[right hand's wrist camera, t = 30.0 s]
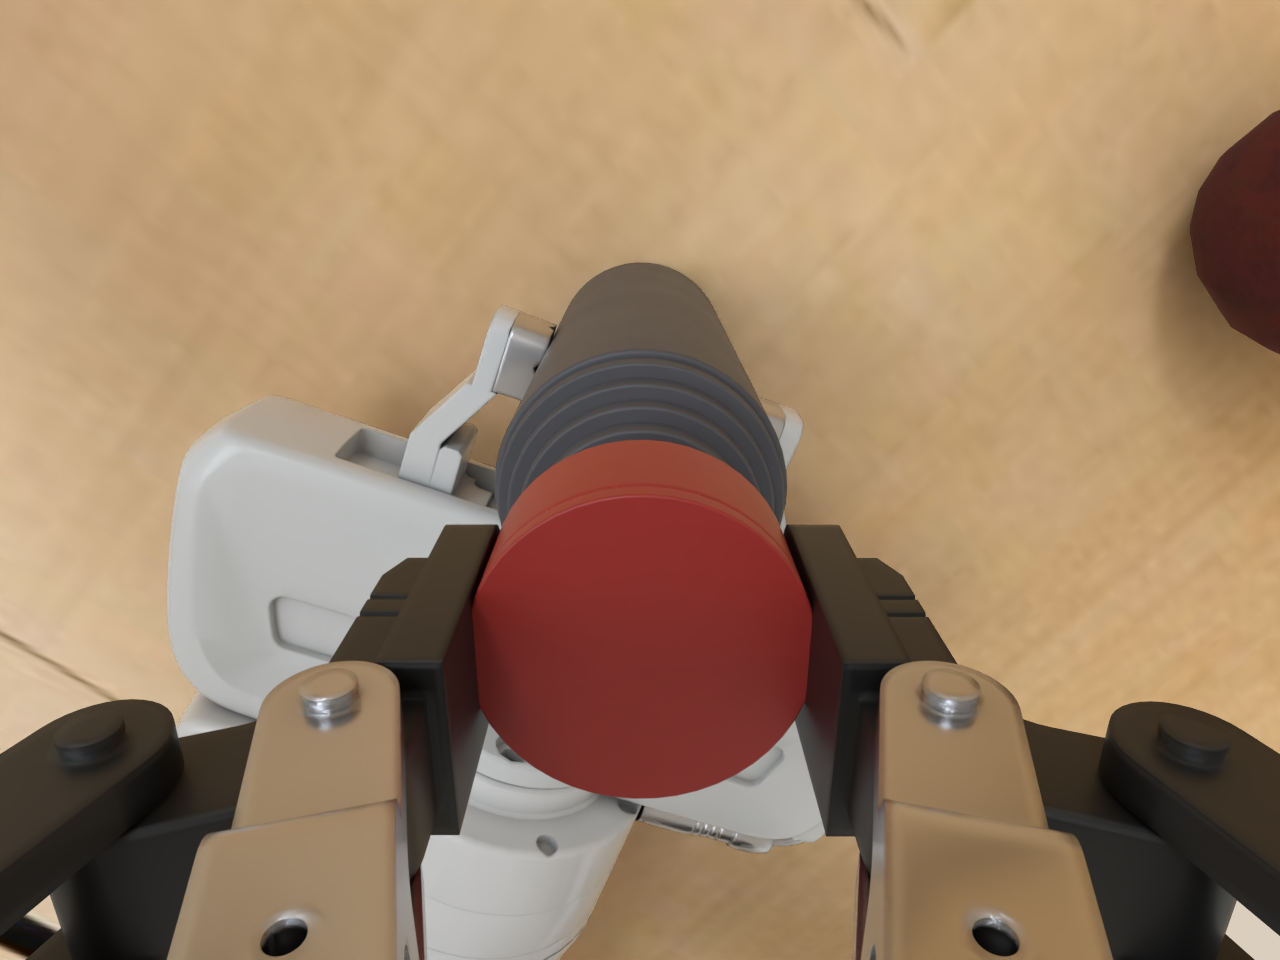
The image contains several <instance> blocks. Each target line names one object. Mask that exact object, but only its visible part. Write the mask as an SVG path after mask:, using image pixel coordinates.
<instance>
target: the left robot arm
mask: <svg viewBox="0 0 1280 960" xmlns="http://www.w3.org/2000/svg"><path fill="white" fill-rule="evenodd" d="M556 326H557V325H555V324H552V323H550V322H547V321H545V320H542V319H539V318H537V317H534V316H531V315H529V314H526V313H523V312H521V311H519V310H516V309H513V308H510V307H507V306H503V305H502V306H501V307H500V308H499V309H498V310H497V311H496V313H495V315H494V317H493V320H492V322H491V325H490V327H489V329H488V332H487V336H486V339H485V342H484V346H483V349H482V352H481V356H480V359H479V363H478V366H477V369H476V370H474V371H473V372H472V373H471V374H470V375H469V376H468V377H466V378H465V379H464V380H463V381H462V382H461V383H460V384H459V385H457V386H456V387H455V388H454V389H453V390H452V391H451V392H449V393H448V394H447V395H446V396H445V397H444V398H443V399H441V400H440V401H439V402H438V403H437V404H436V405H435V406H434V407H432V408H431V409H430V410H429V411H428V413H427V414H426V415H425V416H424V417H423V419H422V420H421V421H420V422H419V424H418V425H417V426H416V427H415V428H414V430H413V431H412V432H411V433H410V435H409V439H408V438H405V437H402V436H399V435H396V434H393V433H390V432H387V431H384V430H381V429H378V428H375V427H372V426H369V425H367V424H364V423H361V422H358V421H355V420H352V419H349V418H346V417H343V416H340V415H337V414H334V413H331V412H328V411H325V410H322V409H319V408H316V407H313V406H310V405H307V404H304V403H301V402H298V401H295V400H292V399H289V398H286V397H282V396H276V395H271V396H266V397H263V398H260V399H258V400H257V401H255V402H253V403H251V404H249V405H247V406H245V407H243V408H241V409H239V410H237V411H235V412H233V413H231V414H230V415H228V416H226V417H225V418H223V419H221V420H220V421H219V422H217V423H216V424H215V425H213V426H212V427H211V428H209V429H208V430H207V431H205V432H204V433H203V434H202V435H201V436H200V437H199V438H198V439H197V440H196V441H195V442H194V443H193V444H192V446H191V447H190V448H189V450H188V451H187V453H186V455H185V457H184V459H183V462H182V465H181V469H180V473H179V477H178V482H177V487H176V494H175V500H174V507H173V515H172V524H171V533H170V545H169V560H168V583H167V622H168V632H169V638H170V643H171V647H172V650H173V654H174V656H175V659H176V661H177V663H178V665H179V667H180V669H181V671H182V672H183V674H184V675H185V677H186V678H187V679H188V680H189V682H190V683H191V684H192V685H193V686H194V687H195V688H196V689H197V690H198V691H197V692H196V694H195V695H194V697H193V698H192V700H191V702H190V704H189V705H188V707H187V709H186V711H185V712H184V714H183V716H182V718H181V719H180V721H179V723H178V725H177V727H176V730H177V734H178V738H180V737H185V736H190V735H195V734H200V733H205V732H210V731H215V730H220V729H225V728H230V727H235V726H239V725H243V724H247V723H251V722H254V721H257V718H258V714H259V710H260V707H261V704H262V702H263V700H264V699H265V697H266V696H267V695H268V694H269V692H270V691H271V690H272V689H273V688H275V687H276V686H277V685H278V684H280V683H281V682H282V681H284V680H286V679H287V678H289V677H291V676H293V675H295V674H297V673H299V672H301V671H303V670H306V669H309V668H311V667H315V666H318V665H322V664H327V663H329V662H330V660H331V658H332V657H333V655H334V653H335V652H336V650H337V649H338V647H339V645H340V644H341V642H342V640H343V639H344V637H345V635H346V634H347V632H348V630H349V629H350V627H351V626H352V624H353V622H354V621H355V619H356V617H357V616H360V611H361V609H362V607H363V606H364V604H365V603H366V601H367V599H370V594H371V593H372V591H373V589H374V588H375V586H376V584H377V583H378V581H379V580H380V578H381V576H382V575H383V574H385V573H386V572H387V571H389V570H390V569H392V568H393V567H395V566H396V565H398V564H399V563H401V562H402V561H404V560H405V559H406V558H428V557H429V555H430V553H431V551H432V549H433V547H434V545H435V543H436V541H437V539H438V538H439V536H440V534H441V532H442V530H443V528H444V526H445V525H447V524H497V525H498V526H499V528H500V530H501V523H500V519H499V515H498V510H497V505H496V499H495V472H496V468H495V467H492V466H489V465H486V464H483V463H480V462H477V461H474V460H471V459H469V458H470V455H471V451H472V448H473V444H474V441H475V437H476V434H477V429H476V427H475V426H474V425H471V424H469V423H466V421H467V420H468V419H469V418H471V417H472V416H473V415H474V414H475V413H476V412H477V411H479V410H480V409H481V408H482V407H483V406H484V405H485V404H486V403H488V402H489V401H490V400H491V399H492V398H493V397H494V396H496V395H497V393H499V394H502V395H505V396H509V397H512V398H515V399H518V400H521V401H522V399H523V397H524V395H525V393H526V391H527V389H528V387H529V385H530V383H531V381H532V379H533V377H534V375H535V373H536V371H537V369H538V367H539V365H540V363H541V361H542V359H543V357H544V355H545V353H546V351H547V349H548V347H549V345H550V343H551V341H552V339H553V336H554V333H555V330H556ZM758 398H759V400H760V402H761V404H762V406H763V408H764V410H765V412H766V414H767V416H768V418H769V420H770V422H771V424H772V426H773V428H774V430H775V432H776V434H777V437H778V439H779V442H780V445H781V448H782V451H783V456H784V461H785V466H786V470H787V468H788V465H789V463H790V461H791V459H792V456H793V454H794V452H795V450H796V448H797V445H798V443H799V441H800V439H801V434H802V430H803V421H802V419H801V417H800V416H799V414H798V412H797V411H796V410H794V409H792V408H789V407H786V406H783V405H780V404H778V403H775V402H772V401H769V400H766V399H763V398H760V397H758ZM780 527H781V530H782V532H783V534H784V530H785V527H786V521H785V513H783V517H782V522H781V525H780ZM635 820H636V821H638V822H642V823H646V824H649V825H653V826H656V827H660V828H663V829H667V830H670V831H674V832H677V833H682V834H687V835H689V834H690V835H693V836H700V837H707V838H710V839H715V840H717V841H721V842H724V843H726V845H727V846H729V847H732V848H734V849H737V850H740V851H744V852H748V853H755V854H766V853H768V852H769V850H770V849H771V847H772V846H792V845H796V844H800V843H803V842H807V843H808V842H814V841H816V840H818V839H819V838H821V837H822V836H823V835H824V834H825V830H824V827H823V823H822V819H821V815H820V812H819V808H818V804H817V801H816V797H815V793H814V790H813V786H812V782H811V779H810V775H809V771H808V768H807V764H806V760H805V757H804V753H803V749H802V745H801V742H800V738H799V734H798V731H797V727H796V723H795V721H794V722H793V724H792V725H791V726H790V728H789V729H788V731H787V732H786V733H785V735H784V736H783V737H782V738H781V739H780V740H779V741H778V742H777V743H776V744H775V746H774V747H773V748H772V749H771V750H770V751H769V752H767V753H766V754H765V755H764V756H762V757H761V758H760V759H759V760H758V761H756V762H755V763H754V764H752V765H751V766H749V767H748V768H746V769H745V770H743V771H741V772H740V773H738V774H737V775H735V776H733V777H731V778H729V779H726V780H724V781H722V782H720V783H718V784H716V785H713V786H710V787H707V788H704V789H701V790H699V791H695V792H691V793H686V794H682V795H678V796H671V797H663V798H651V799H631V798H619V797H611V796H605V795H600V794H595V793H591V792H588V791H584V790H581V789H578V788H575V787H572V786H569V785H567V784H565V783H562V782H560V781H558V780H555V779H553V778H551V777H550V776H548V775H546V774H544V773H543V772H541V771H539V770H537V769H536V768H534V767H533V766H531V765H530V764H529V763H527V762H526V761H525V760H523V759H522V758H521V757H519V756H518V755H517V754H516V753H515V752H514V751H513V750H512V749H511V748H510V747H509V746H508V745H507V744H506V743H505V742H504V741H503V740H502V739H501V738H500V736H499V735H498V734H497V733H496V732H495V730H494V729H493V728H492V727H491V725H490V723H489V725H488V729H487V732H486V736H485V740H484V744H483V748H482V751H481V755H480V759H479V763H478V767H477V770H476V774H475V778H474V782H473V786H472V789H471V793H470V797H469V801H468V805H467V808H466V812H465V816H464V820H463V824H462V827H461V831H460V835H431V836H430V839H429V843H428V846H427V849H426V852H425V856H424V859H423V861H422V871H423V879H424V892H425V915H426V937H427V960H561V956H562V955H563V954H564V953H565V952H566V951H567V949H568V948H569V947H570V946H571V945H572V944H573V943H574V942H575V940H576V939H577V937H578V936H579V934H580V933H581V931H582V930H583V928H584V927H585V925H586V924H587V922H588V920H589V918H590V915H591V913H592V911H593V910H594V907H595V905H596V903H597V901H598V899H599V896H600V894H601V892H602V890H603V888H604V886H605V884H606V881H607V879H608V877H609V875H610V873H611V871H612V869H613V866H614V864H615V862H616V860H617V858H618V855H619V853H620V851H621V849H622V847H623V845H624V843H625V841H626V838H627V836H628V834H629V832H630V830H631V828H632V826H633V823H634V821H635Z"/></svg>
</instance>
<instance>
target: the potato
mask: <svg viewBox="0 0 1280 960" xmlns="http://www.w3.org/2000/svg"><path fill="white" fill-rule="evenodd" d="M1190 234H1191V240H1192V246H1193V252H1194V259H1195V264H1196V270H1197V275H1198V276H1199V278H1200V280H1201V281H1202V283H1203V284H1204V286H1205V288H1206V289H1207V291H1208V292H1209V294H1210V296H1211V297H1212V299H1213V300H1214V302H1215V303H1216V305H1217V307H1218V308H1219V310H1220V311H1221V313H1222V314H1223V316H1224V317H1225V319H1226V320H1227V321H1228V323H1229V324H1230V326H1231V327H1232V328H1234V329H1236V330H1237V331H1239V332H1241V333H1242V334H1244V335H1246V336H1248V337H1249V338H1251V339H1253V340H1254V341H1256V342H1258V343H1259V344H1261V345H1263V346H1265V347H1266V348H1268V349H1270V350H1272V351H1274V352H1276V353H1279V354H1280V110H1279V111H1276V112H1274V113H1272V114H1271V115H1270V116H1268V117H1267V118H1266V119H1265V120H1264V121H1262V122H1261V123H1260V124H1259V125H1258V126H1256V127H1255V128H1254V129H1253V130H1251V131H1250V132H1249V133H1248V134H1247V135H1245V136H1244V137H1243V138H1242V139H1241V140H1239V141H1238V142H1237V143H1236V144H1235V145H1233V146H1232V147H1231V148H1230V149H1228V150H1227V151H1226V152H1225V153H1224V154H1223V155H1222V156H1221V157H1220V158H1219V160H1218V162H1217V163H1216V165H1215V166H1214V168H1213V169H1212V171H1211V172H1210V174H1209V176H1208V177H1207V179H1206V180H1205V182H1204V183H1203V185H1202V187H1201V188H1200V190H1199V191H1198V195H1197V199H1196V204H1195V208H1194V212H1193V216H1192V220H1191V224H1190Z"/></svg>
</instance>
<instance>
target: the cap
mask: <svg viewBox="0 0 1280 960" xmlns="http://www.w3.org/2000/svg"><path fill="white" fill-rule="evenodd" d="M472 618H473V630H474V643H475V655H476V668H477V680H478V693H479V704H480V708H481V710H482V712H483V714H484V715H485V717H486V719H487V720H488V722H489V723H490V725H491V727H492V728H493V729H494V730H495V732H496V733H497V734H498V735H499V736H500V738H501V739H502V740H503V741H504V742H505V743H506V744H507V745H508V746H509V747H510V748H511V749H512V750H513V751H514V752H515V753H516V754H517V755H518V756H519V757H521V758H522V759H523V760H525V761H526V762H527V763H529V764H530V765H531V766H533V767H534V768H536V769H537V770H539V771H541V772H543V773H544V774H546V775H548V776H550V777H551V778H553V779H555V780H558V781H560V782H562V783H565V784H567V785H569V786H572V787H575V788H578V789H581V790H584V791H588V792H591V793H595V794H600V795H605V796H611V797H619V798H631V799H651V798H663V797H671V796H678V795H682V794H686V793H691V792H695V791H699V790H701V789H704V788H707V787H710V786H713V785H716V784H718V783H720V782H722V781H724V780H726V779H729V778H731V777H733V776H735V775H737V774H738V773H740V772H741V771H743V770H745V769H746V768H748V767H749V766H751V765H752V764H754V763H755V762H756V761H758V760H759V759H760V758H761V757H762V756H764V755H765V754H766V753H767V752H769V751H770V750H771V749H772V748H773V747H774V746H775V744H776V743H777V742H778V741H779V740H780V739H781V738H782V737H783V736H784V735H785V733H786V732H787V731H788V729H789V728H790V726H791V725H792V724H793V722H794V721H795V720H796V718H797V716H798V714H799V712H800V710H801V708H802V707H803V705H804V703H805V700H806V689H807V677H808V665H809V653H810V641H811V629H812V608H811V604H810V601H809V599H808V596H807V594H806V591H805V588H804V586H803V583H802V581H801V578H800V576H799V573H798V570H797V568H796V565H795V563H794V560H793V558H792V555H791V553H790V550H789V547H788V545H787V542H786V540H785V537H784V535H783V532H782V530H781V527H780V525H779V523H778V520H777V518H776V516H775V515H774V513H773V511H772V510H771V508H770V506H769V505H768V503H767V501H766V500H765V499H764V498H763V496H762V495H761V494H760V493H759V492H758V490H757V489H756V488H755V487H754V486H753V485H752V484H751V483H750V482H749V481H748V480H747V479H746V478H745V477H743V476H742V475H741V474H740V473H739V472H737V471H736V470H734V469H733V468H731V467H730V466H729V465H727V464H726V463H724V462H722V461H720V460H719V459H717V458H715V457H713V456H711V455H709V454H707V453H704V452H702V451H699V450H696V449H694V448H691V447H688V446H684V445H679V444H675V443H671V442H664V441H655V440H625V441H619V442H612V443H606V444H602V445H599V446H595V447H592V448H588V449H585V450H583V451H581V452H578V453H576V454H573V455H571V456H569V457H567V458H565V459H564V460H562V461H560V462H558V463H557V464H555V465H553V466H552V467H550V468H549V469H548V470H546V471H545V472H544V473H543V474H541V475H540V476H539V477H537V478H536V479H535V480H534V481H533V482H532V483H531V484H530V485H529V486H528V487H527V488H526V489H525V490H524V491H523V492H522V494H521V495H520V497H519V498H518V499H517V501H516V502H515V503H514V505H513V506H512V507H511V509H510V511H509V513H508V515H507V517H506V519H505V521H504V522H503V525H502V527H501V530H500V532H499V535H498V537H497V540H496V543H495V545H494V548H493V550H492V553H491V556H490V558H489V561H488V563H487V566H486V569H485V571H484V574H483V576H482V579H481V582H480V584H479V587H478V589H477V592H476V595H475V597H474V600H473V603H472Z"/></svg>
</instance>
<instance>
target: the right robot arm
mask: <svg viewBox="0 0 1280 960" xmlns="http://www.w3.org/2000/svg"><path fill="white" fill-rule="evenodd" d="M499 532H500V528H499V526H498V525H497V524H447V525H445V526H444V528H443V530H442V532H441V534H440V536H439V538H438V539H437V541H436V543H435V545H434V547H433V549H432V551H431V553H430V555H429V557H428V558H406V559H405V560H404V561H402V562H401V563H399V564H398V565H396V566H395V567H393V568H392V569H390V570H389V571H387V572H386V573H385V574H383V575H382V576H381V578H380V580H379V581H378V583H377V584H376V586H375V588H374V589H373V591H372V593H371V594H370V599H367V601H366V603H365V604H364V606H363V607H362V609H361V611H360V616H357V617H356V619H355V621H354V622H353V624H352V626H351V627H350V629H349V630H348V632H347V634H346V635H345V637H344V639H343V640H342V642H341V644H340V645H339V647H338V649H337V650H336V652H335V653H334V655H333V657H332V658H331V660H330V662H329V663H327V664H322V665H318V666H315V667H311V668H309V669H306V670H303V671H301V672H299V673H297V674H295V675H293V676H291V677H289V678H287V679H286V680H284V681H282V682H281V683H280V684H278V685H277V686H276V687H275V688H273V689H272V690H271V691H270V692H269V694H268V695H267V696H266V697H265V699H264V700H263V702H262V704H261V707H260V710H259V714H258V718H257V721H254V722H251V723H247V724H243V725H239V726H235V727H230V728H225V729H220V730H215V731H210V732H205V733H200V734H195V735H190V736H185V737H180V738H178V734H177V730H176V726H175V722H174V718H173V715H172V713H171V712H170V711H169V710H168V708H166V707H165V706H163V705H161V704H159V703H156V702H153V701H147V700H135V699H130V700H118V701H111V702H105V703H101V704H97V705H93V706H90V707H86V708H83V709H80V710H77V711H75V712H72V713H70V714H67V715H65V716H63V717H61V718H59V719H57V720H54V721H52V722H51V723H49V724H47V725H45V726H44V727H42V728H40V729H39V730H37V731H36V732H34V733H33V734H31V735H29V736H28V737H26V738H25V739H23V740H22V741H20V742H19V743H17V744H15V745H14V746H12V747H11V748H9V749H8V750H6V751H4V752H3V753H1V754H0V936H1V935H2V934H3V933H4V932H5V931H7V930H8V929H9V928H10V927H11V926H13V925H14V924H15V923H16V922H17V921H19V920H20V919H21V918H22V917H23V916H25V915H26V914H27V913H28V912H29V911H31V910H32V909H33V908H34V907H35V906H37V905H38V904H39V903H40V902H41V901H43V900H44V899H45V898H46V897H47V896H49V895H50V897H51V900H52V902H53V905H54V908H55V911H56V914H57V917H58V920H59V923H60V926H61V929H60V930H59V931H57V932H56V933H55V934H54V935H53V936H52V937H51V938H50V939H48V940H47V941H46V942H45V943H44V944H43V945H42V946H41V947H39V948H38V949H37V950H36V951H35V952H34V953H33V954H32V955H30V956H29V957H28V958H27V959H26V960H427V937H426V915H425V892H424V879H423V871H422V861H423V859H424V856H425V852H426V849H427V846H428V843H429V839H430V836H431V835H460V831H461V827H462V824H463V820H464V816H465V812H466V808H467V805H468V801H469V797H470V793H471V789H472V786H473V782H474V778H475V774H476V770H477V767H478V763H479V759H480V755H481V751H482V748H483V744H484V740H485V736H486V732H487V729H488V725H489V722H488V720H487V719H486V717H485V715H484V714H483V712H482V710H481V708H480V704H479V693H478V680H477V668H476V655H475V643H474V630H473V618H472V603H473V600H474V597H475V595H476V592H477V589H478V587H479V584H480V582H481V579H482V576H483V574H484V571H485V569H486V566H487V563H488V561H489V558H490V556H491V553H492V550H493V548H494V545H495V543H496V540H497V537H498V535H499ZM783 535H784V537H785V540H786V542H787V545H788V547H789V550H790V553H791V555H792V558H793V560H794V563H795V565H796V568H797V570H798V573H799V576H800V578H801V581H802V583H803V586H804V588H805V591H806V594H807V596H808V599H809V601H810V604H811V608H812V629H811V641H810V653H809V665H808V677H807V689H806V700H805V703H804V705H803V707H802V708H801V710H800V712H799V714H798V716H797V718H796V720H795V723H796V727H797V731H798V734H799V738H800V742H801V745H802V749H803V753H804V757H805V760H806V764H807V768H808V771H809V775H810V779H811V782H812V786H813V790H814V793H815V797H816V801H817V804H818V808H819V812H820V815H821V819H822V823H823V827H824V830H825V834H826V836H855V837H856V840H857V844H858V847H859V850H860V855H859V863H858V871H857V879H856V892H855V914H854V936H853V959H852V960H1254V959H1253V958H1252V957H1251V956H1250V955H1248V954H1247V953H1246V952H1245V951H1244V950H1243V949H1242V948H1241V947H1239V946H1238V945H1237V944H1236V943H1235V942H1234V941H1233V940H1232V939H1230V938H1229V937H1228V936H1227V935H1226V934H1225V933H1226V930H1227V927H1228V924H1229V921H1230V918H1231V915H1232V913H1233V910H1234V907H1235V904H1236V901H1239V902H1240V903H1241V904H1242V905H1243V906H1245V907H1246V908H1247V909H1248V910H1249V911H1251V912H1252V913H1253V914H1254V915H1255V916H1257V917H1258V918H1259V919H1260V920H1261V921H1263V922H1264V923H1265V924H1266V925H1267V926H1269V927H1270V928H1271V929H1272V930H1273V931H1275V932H1276V933H1277V934H1278V935H1279V936H1280V754H1279V753H1277V752H1276V751H1274V750H1272V749H1271V748H1269V747H1268V746H1266V745H1265V744H1263V743H1262V742H1260V741H1258V740H1257V739H1255V738H1254V737H1252V736H1251V735H1249V734H1247V733H1246V732H1244V731H1243V730H1241V729H1239V728H1238V727H1236V726H1234V725H1232V724H1231V723H1229V722H1226V721H1224V720H1222V719H1220V718H1218V717H1216V716H1213V715H1211V714H1208V713H1206V712H1203V711H1200V710H1196V709H1193V708H1190V707H1186V706H1181V705H1177V704H1171V703H1165V702H1137V703H1131V704H1128V705H1125V706H1122V707H1120V708H1119V709H1117V710H1116V711H1115V712H1114V713H1113V714H1112V715H1111V718H1110V721H1109V725H1108V729H1107V733H1106V737H1105V738H1102V737H1097V736H1092V735H1087V734H1082V733H1077V732H1072V731H1067V730H1062V729H1057V728H1052V727H1048V726H1044V725H1039V724H1036V723H1033V722H1030V721H1027V720H1024V719H1023V718H1022V714H1021V710H1020V707H1019V704H1018V702H1017V700H1016V699H1015V697H1014V696H1013V695H1012V694H1011V693H1010V691H1009V690H1008V689H1007V688H1005V687H1004V686H1003V685H1002V684H1000V683H999V682H998V681H996V680H994V679H993V678H991V677H989V676H987V675H985V674H983V673H981V672H979V671H977V670H974V669H971V668H969V667H965V666H962V665H958V664H957V663H956V661H955V659H954V658H953V656H952V655H951V653H950V651H949V650H948V648H947V647H946V645H945V643H944V642H943V640H942V639H941V637H940V635H939V634H938V632H937V630H936V629H935V627H934V626H933V624H932V622H931V621H930V619H929V618H928V617H926V616H925V611H924V609H923V608H922V606H921V605H920V603H919V601H918V600H915V595H914V593H913V592H912V590H911V589H910V587H909V585H908V584H907V582H906V580H905V579H904V577H903V576H902V575H901V574H899V573H898V572H896V571H895V570H893V569H892V568H891V567H889V566H888V565H886V564H885V563H883V562H882V561H880V560H879V559H877V558H856V556H855V554H854V552H853V550H852V548H851V546H850V544H849V543H848V541H847V539H846V537H845V535H844V533H843V531H842V529H841V528H840V526H839V525H786V527H785V530H784V534H783Z"/></svg>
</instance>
